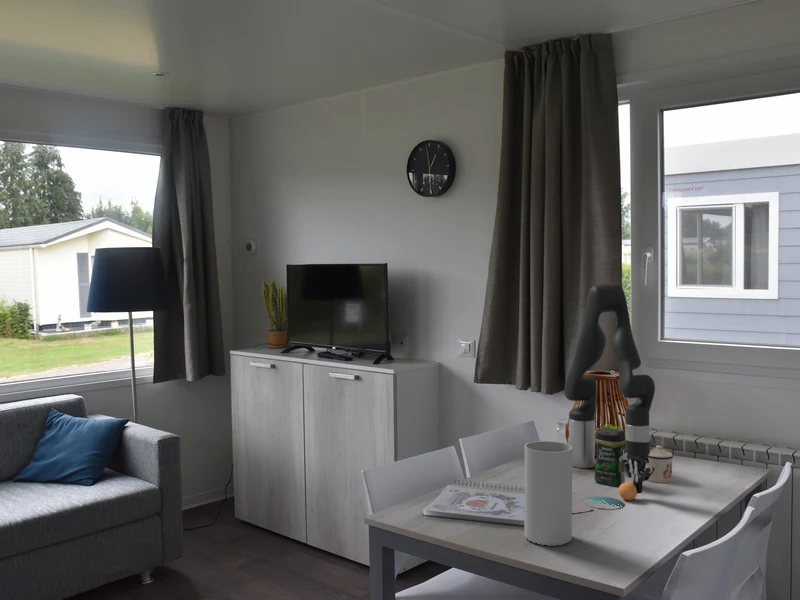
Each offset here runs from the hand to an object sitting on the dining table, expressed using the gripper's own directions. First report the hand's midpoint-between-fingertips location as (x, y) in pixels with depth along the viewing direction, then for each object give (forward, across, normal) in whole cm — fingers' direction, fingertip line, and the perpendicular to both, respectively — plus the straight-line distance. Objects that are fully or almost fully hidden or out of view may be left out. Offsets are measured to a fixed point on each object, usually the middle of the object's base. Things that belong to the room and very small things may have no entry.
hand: (637, 492), depth 233 cm
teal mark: (+2, 0, -13) cm, 13 cm away
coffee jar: (+2, -17, +3) cm, 18 cm away
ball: (-1, 0, -4) cm, 4 cm away
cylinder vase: (+2, +17, -46) cm, 49 cm away
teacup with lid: (+2, -14, +22) cm, 26 cm away
